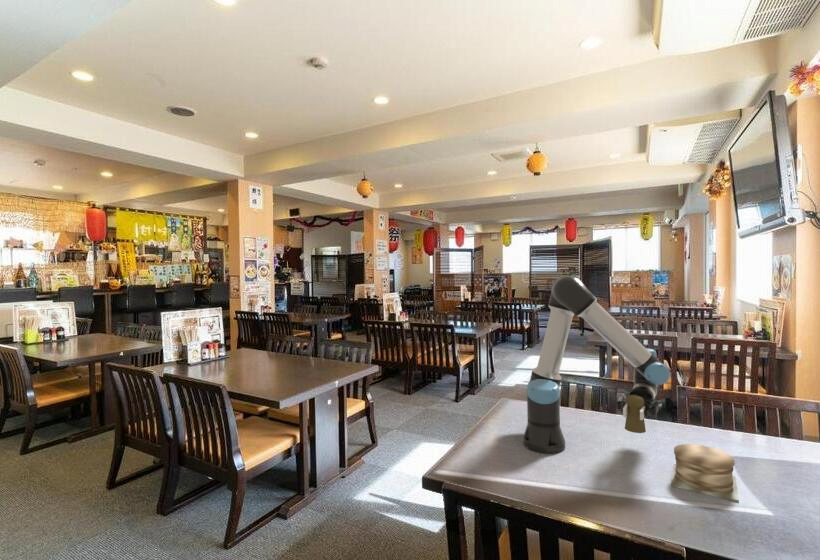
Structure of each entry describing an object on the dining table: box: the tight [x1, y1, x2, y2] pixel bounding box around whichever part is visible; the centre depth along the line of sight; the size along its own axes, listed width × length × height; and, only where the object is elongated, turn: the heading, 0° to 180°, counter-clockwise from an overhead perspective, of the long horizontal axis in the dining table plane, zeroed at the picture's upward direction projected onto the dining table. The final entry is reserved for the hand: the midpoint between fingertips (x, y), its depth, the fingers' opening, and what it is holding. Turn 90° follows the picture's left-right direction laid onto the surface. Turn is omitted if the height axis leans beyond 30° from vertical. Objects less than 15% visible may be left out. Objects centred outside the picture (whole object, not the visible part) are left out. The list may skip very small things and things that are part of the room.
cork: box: [624, 394, 647, 434], centre depth 134 cm, size 6×6×11 cm
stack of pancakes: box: [670, 443, 740, 503], centre depth 125 cm, size 16×16×9 cm
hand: (632, 414), depth 130 cm, fingers closed on cork, 4 cm apart
